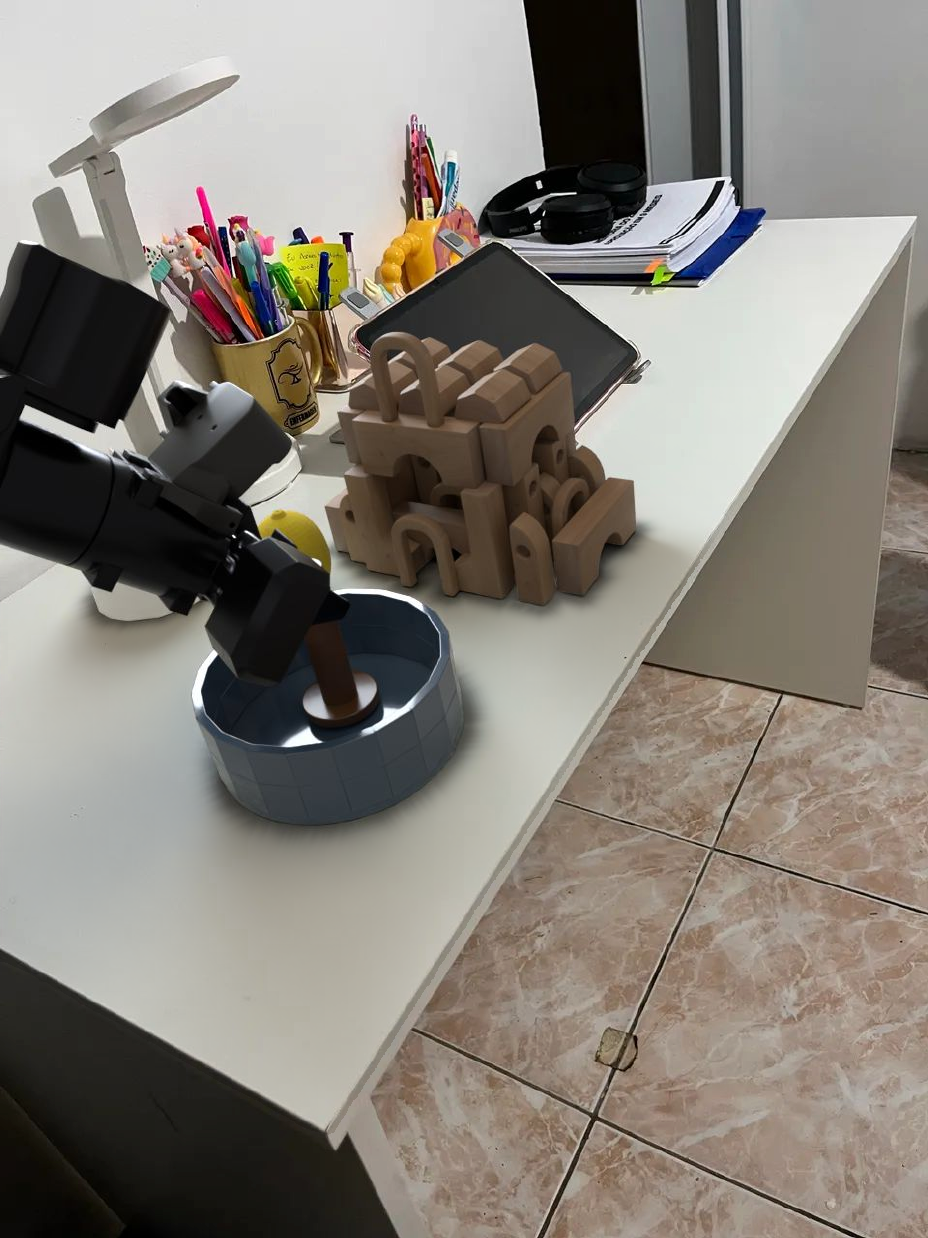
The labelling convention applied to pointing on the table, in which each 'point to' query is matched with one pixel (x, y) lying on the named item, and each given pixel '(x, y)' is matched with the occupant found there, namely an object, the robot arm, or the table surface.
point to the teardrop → (129, 601)
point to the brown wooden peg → (335, 680)
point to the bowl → (343, 756)
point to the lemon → (298, 534)
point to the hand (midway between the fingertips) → (336, 602)
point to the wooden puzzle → (474, 472)
